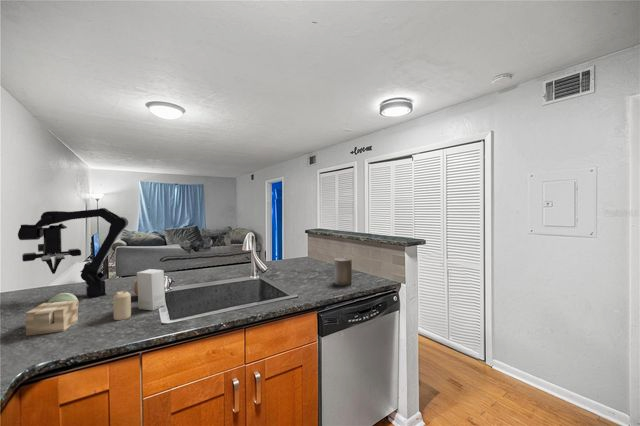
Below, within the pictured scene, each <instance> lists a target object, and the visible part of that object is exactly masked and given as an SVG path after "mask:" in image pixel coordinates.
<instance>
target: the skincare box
mask: <svg viewBox="0 0 640 426" xmlns="http://www.w3.org/2000/svg"><path fill="white" fill-rule="evenodd" d="M164 275H165V273H164V269H155V268H154V269H153V268H148V269H145V270H141V271H137V272H136V281H137V287H138V295H137V300H138V301H137V302H138V309H140V310H145V311H155V310H158V309H160V308H159V307H161V306H163V307H164V305H165V306H166V294H165V292H166V291H165V276H164ZM161 308H162V307H161Z"/></svg>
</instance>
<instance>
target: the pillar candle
mask: <svg viewBox="0 0 640 426" xmlns="http://www.w3.org/2000/svg"><path fill="white" fill-rule="evenodd" d="M352 262H353V261H352V258H350V257H344V256H342V257H335V258H334V263H333V264H334V265H333V266H334V267H333V268H334V270H333V271H334V273H333V275H334V281H333V282H334V284H335V285H336V286H342V287H343V286H351V285H352V283H353V282H352V275H353V274H352V271H353V269H352V268H353V267H352V265H353V264H352Z"/></svg>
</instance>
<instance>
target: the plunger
mask: <svg viewBox="0 0 640 426" xmlns="http://www.w3.org/2000/svg"><path fill="white" fill-rule="evenodd" d="M71 300H78V307H79V305H80V301H79V299H78V297H77V296H76V295H74V294H73V293H71V292H62V293H58V294H56V295H55V296H53V297H51V298H50V299H48V301H47V303H49V302H52V304H50V305H48V306H47V307H45V308H43V309H42V310H40V311H38V312H36V313H35V314H33V319H34V326H42V325H49V324H51V323H52V322H54V310H56V309H57V308H59V307H60V306H62V305H63V304H65V303H66V302H68V301H71Z"/></svg>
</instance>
